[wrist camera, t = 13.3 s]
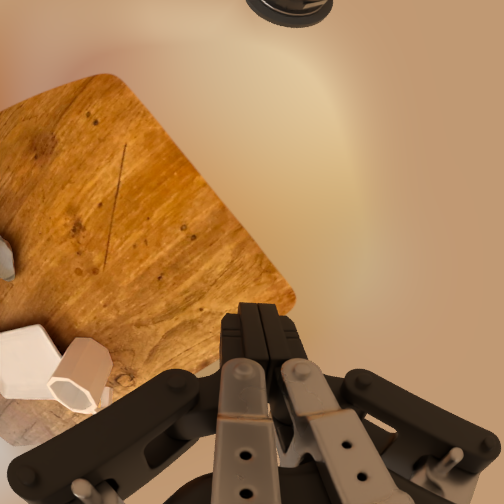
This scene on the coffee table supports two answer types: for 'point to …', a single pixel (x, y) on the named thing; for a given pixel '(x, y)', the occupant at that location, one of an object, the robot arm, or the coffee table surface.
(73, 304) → the coffee table surface
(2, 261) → the seashell
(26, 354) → the white slab
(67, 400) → the mug
